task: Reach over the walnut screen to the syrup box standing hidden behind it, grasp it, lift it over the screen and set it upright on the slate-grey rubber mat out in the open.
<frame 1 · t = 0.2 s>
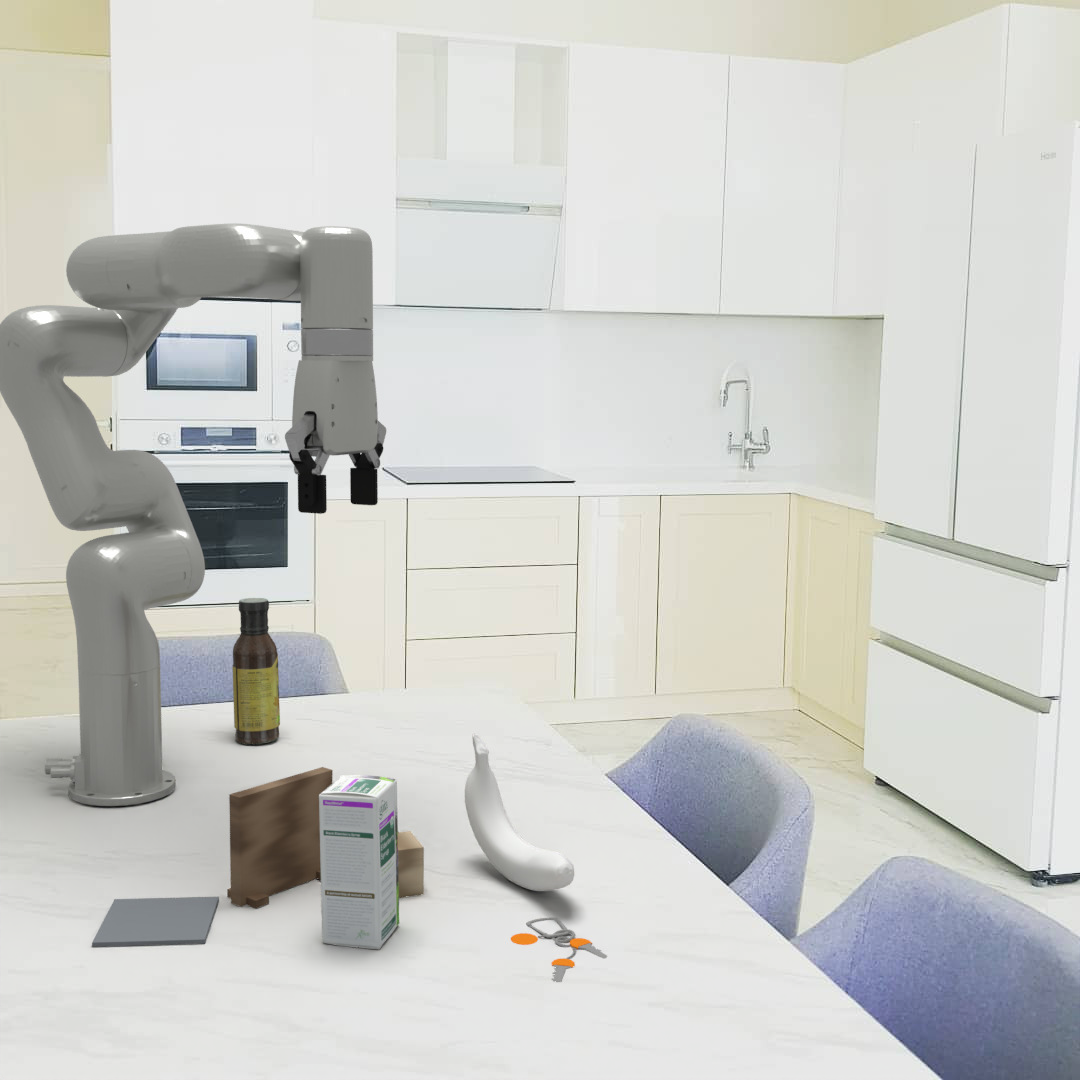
hand: (338, 508, 145), 37 cm above the table, tool pointing down, fingers open, 9 cm apart
oak cube: (392, 889, 137), on the table
mat: (158, 922, 128), on the table
syrup box: (360, 936, 126), on the table
screen: (283, 887, 137), on the table
banana: (520, 887, 139), on the table
sauce bottle: (256, 741, 189), on the table
key chain: (557, 953, 124), on the table
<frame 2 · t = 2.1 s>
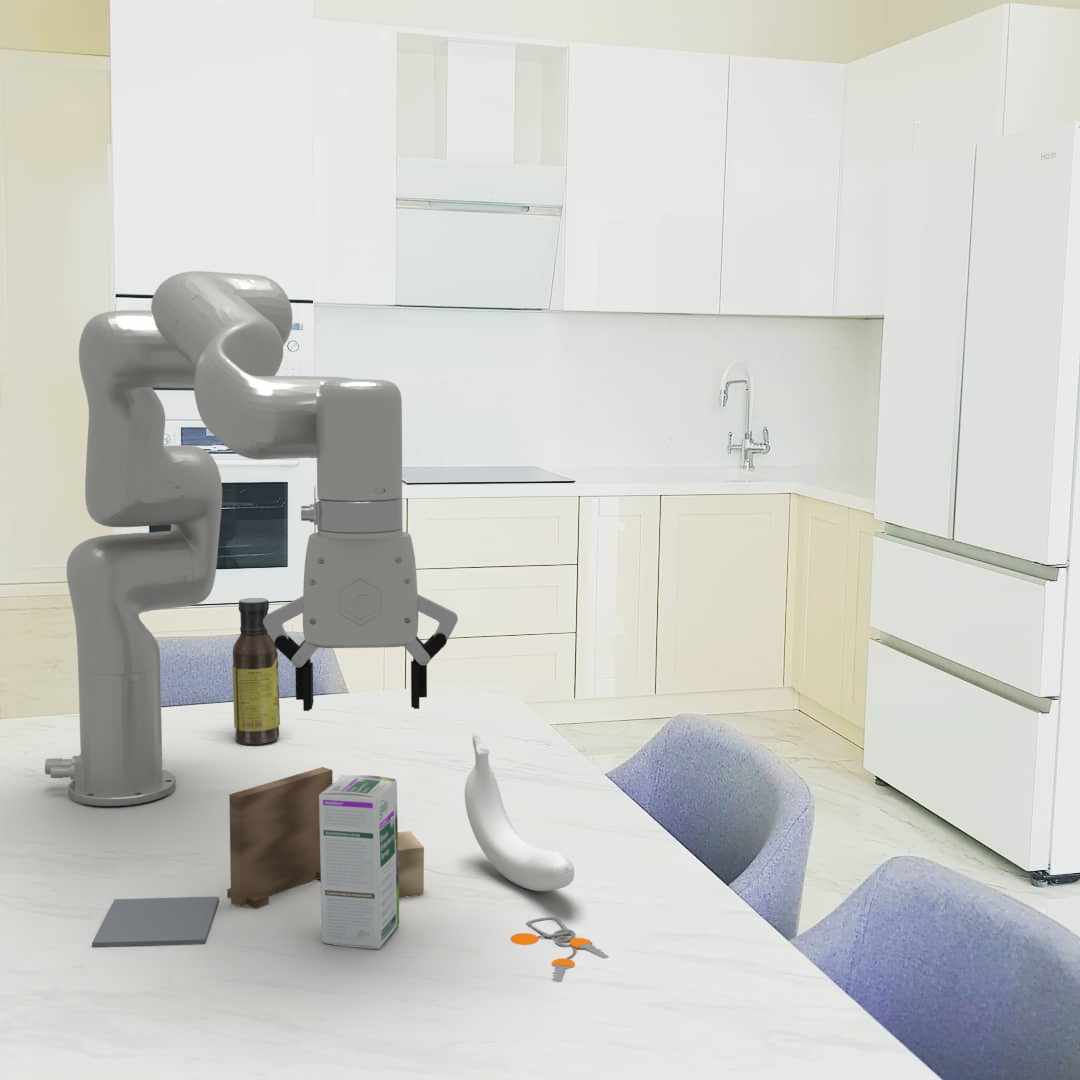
hand: (362, 706, 123), 22 cm above the table, tool pointing down, fingers open, 9 cm apart
nothing on the table moved.
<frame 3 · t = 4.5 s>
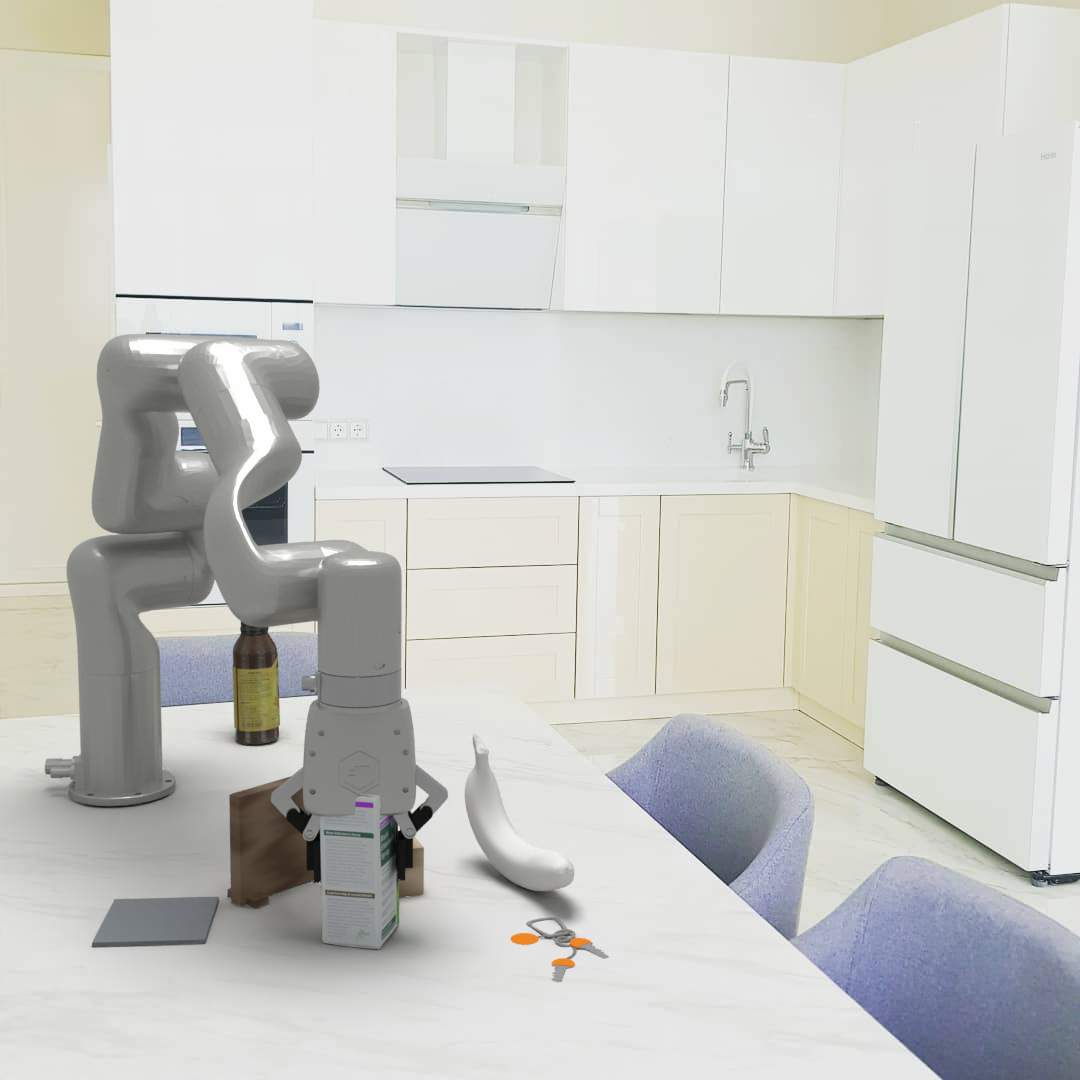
hand: (360, 874, 125), 6 cm above the table, tool pointing down, fingers closed on syrup box, 7 cm apart
syrup box: (360, 936, 126), on the table, touching gripper
everything else where it was.
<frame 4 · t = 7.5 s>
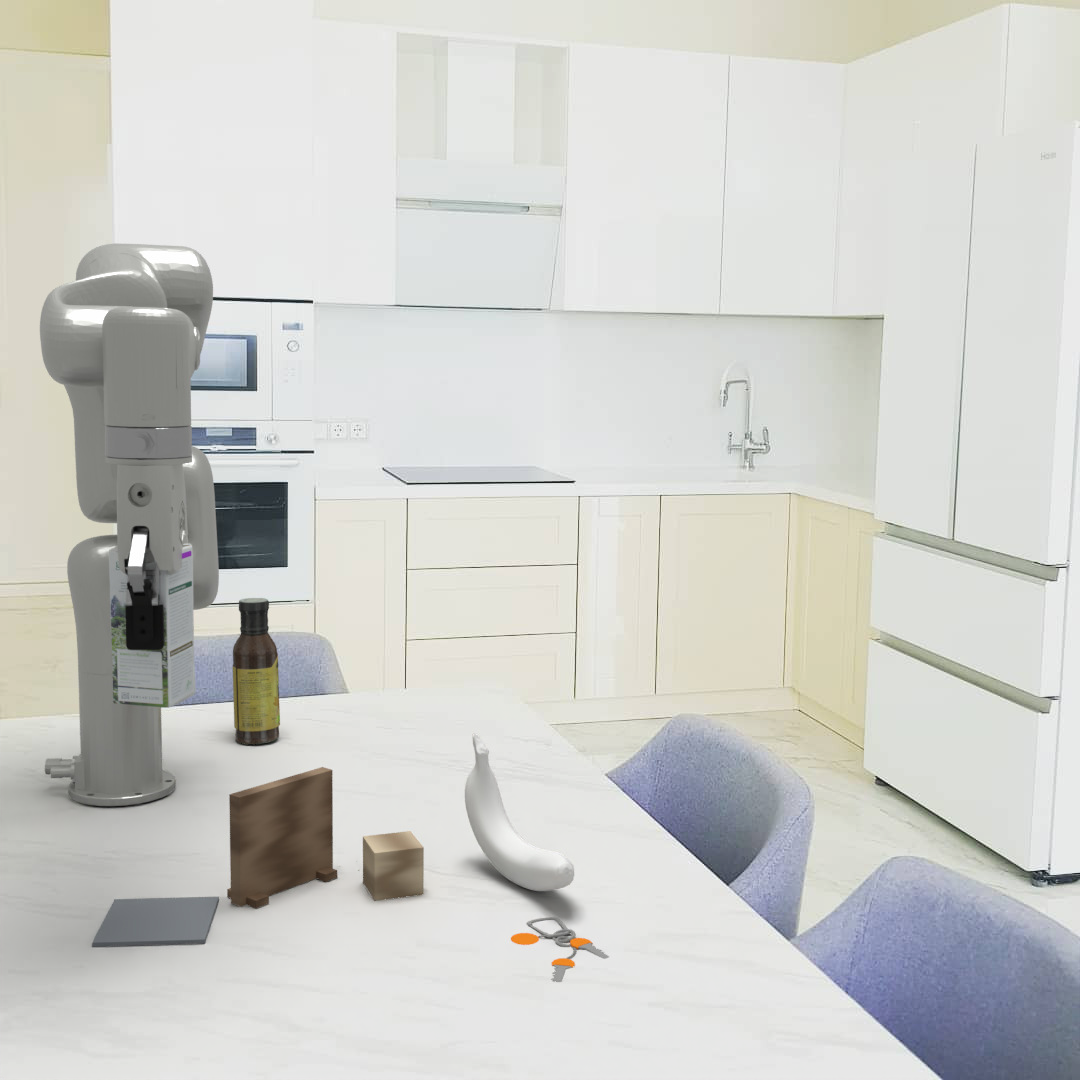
hand: (153, 638, 124), 27 cm above the table, tool pointing down, fingers closed on syrup box, 7 cm apart
syrup box: (154, 702, 125), point 21 cm above the table, touching gripper
everything else where it was.
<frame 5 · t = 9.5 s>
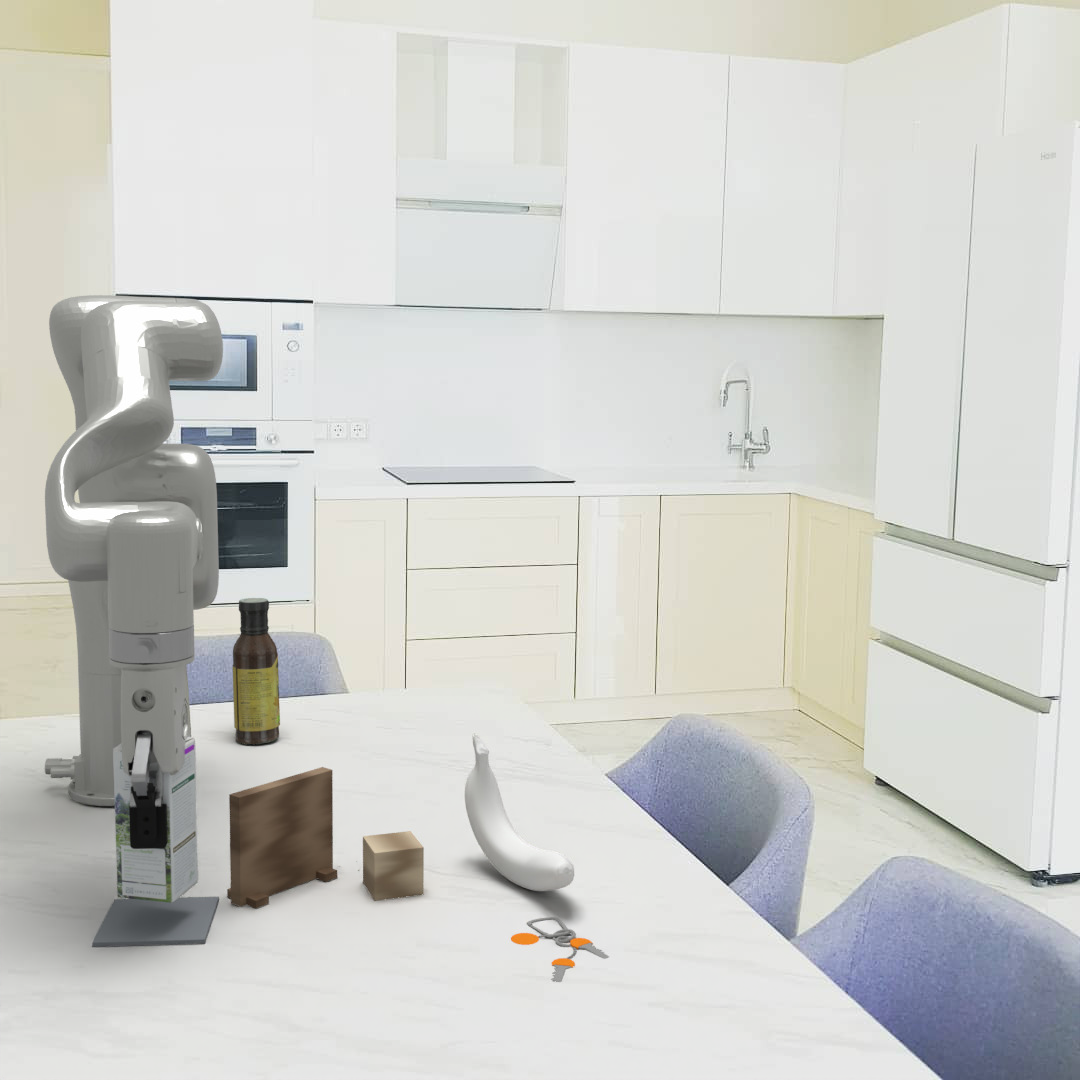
hand: (156, 831, 127), 9 cm above the table, tool pointing down, fingers closed on syrup box, 7 cm apart
syrup box: (158, 893, 127), point 3 cm above the table, touching gripper
everything else where it was.
when the fingers open (6 cm above the table, at t = 10.8 s): syrup box stays where it is, resting on mat.
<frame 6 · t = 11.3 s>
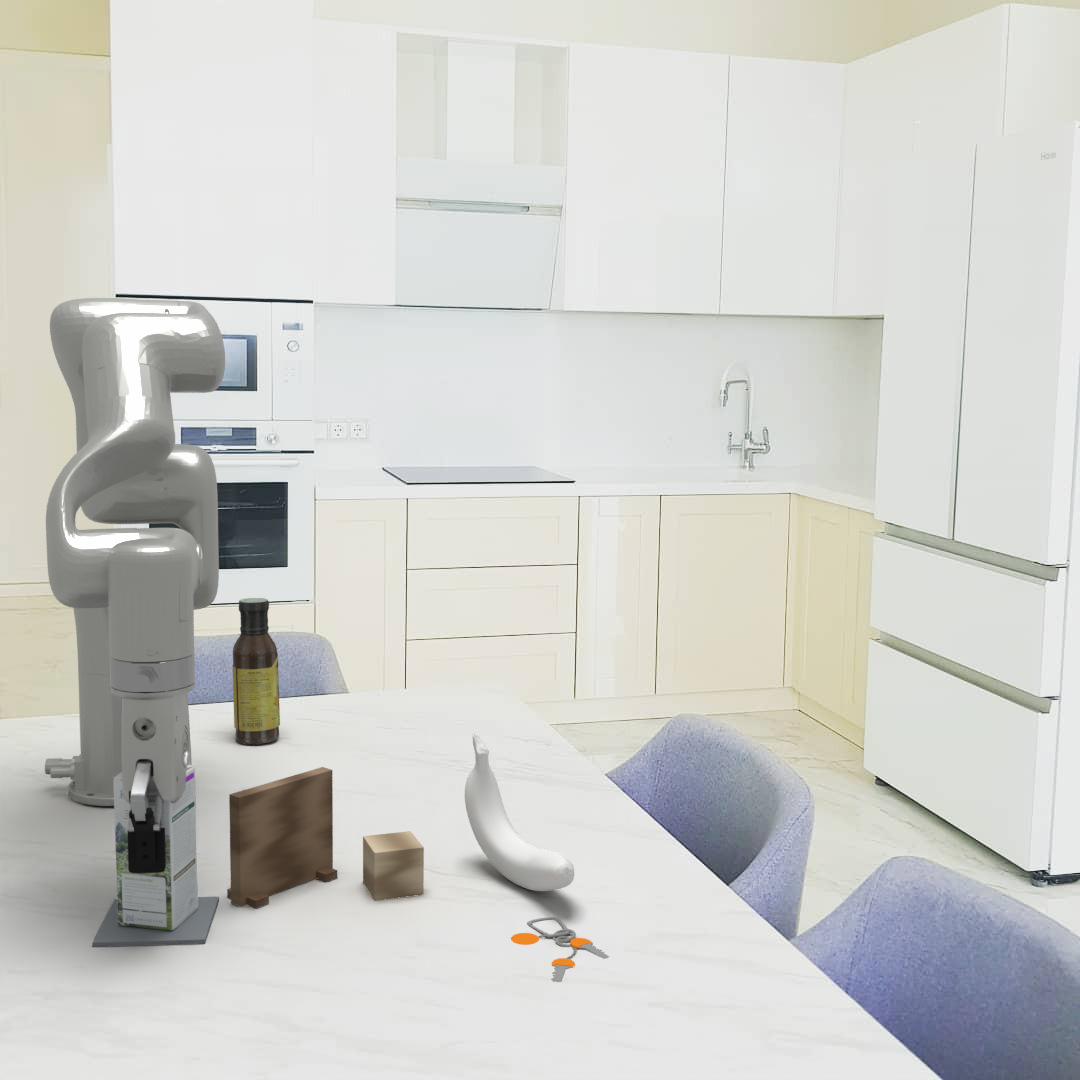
hand: (156, 852, 127), 7 cm above the table, tool pointing down, fingers open, 9 cm apart
syrup box: (158, 919, 128), resting on mat
everything else where it was.
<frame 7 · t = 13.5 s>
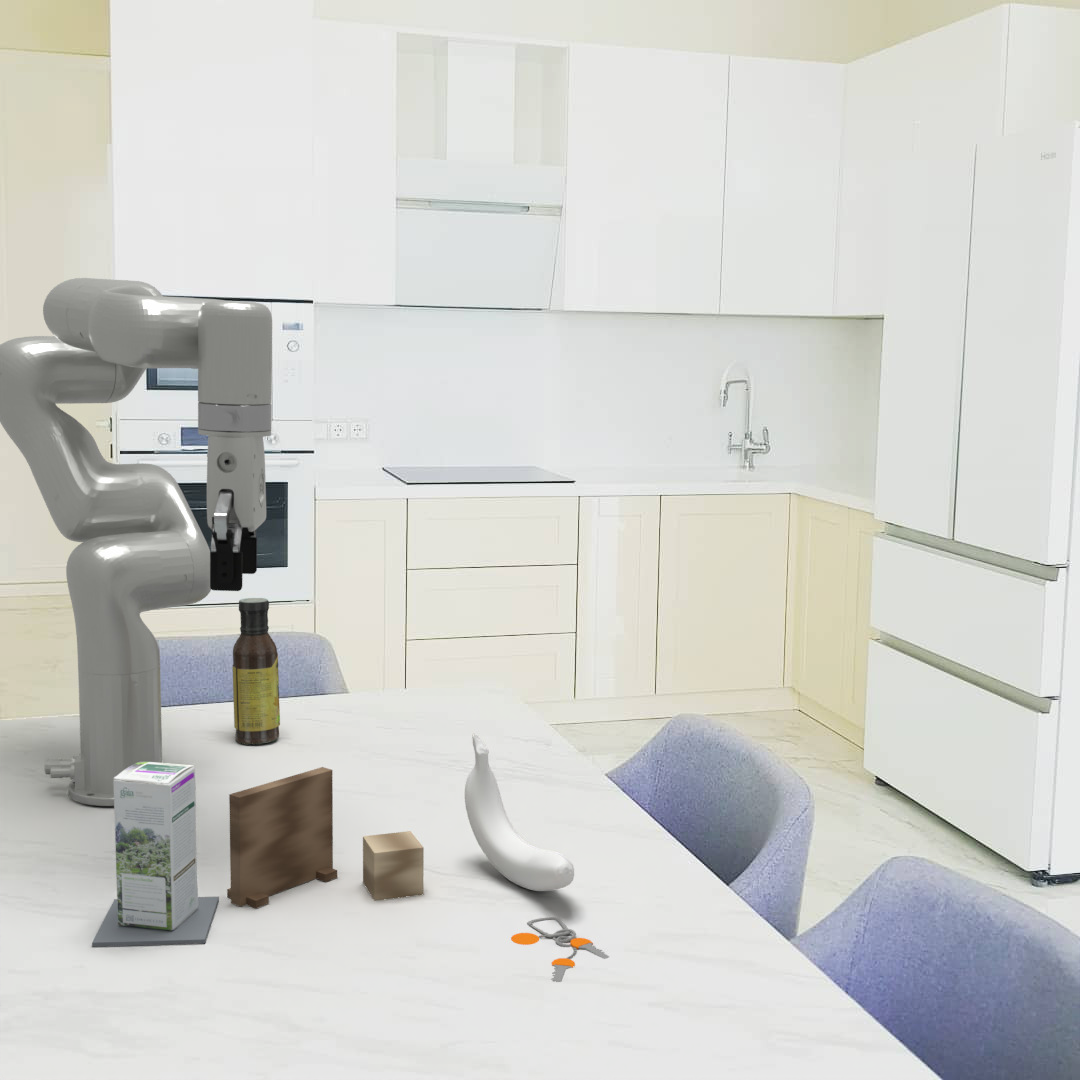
hand: (234, 581, 144), 29 cm above the table, tool pointing down, fingers open, 9 cm apart
nothing on the table moved.
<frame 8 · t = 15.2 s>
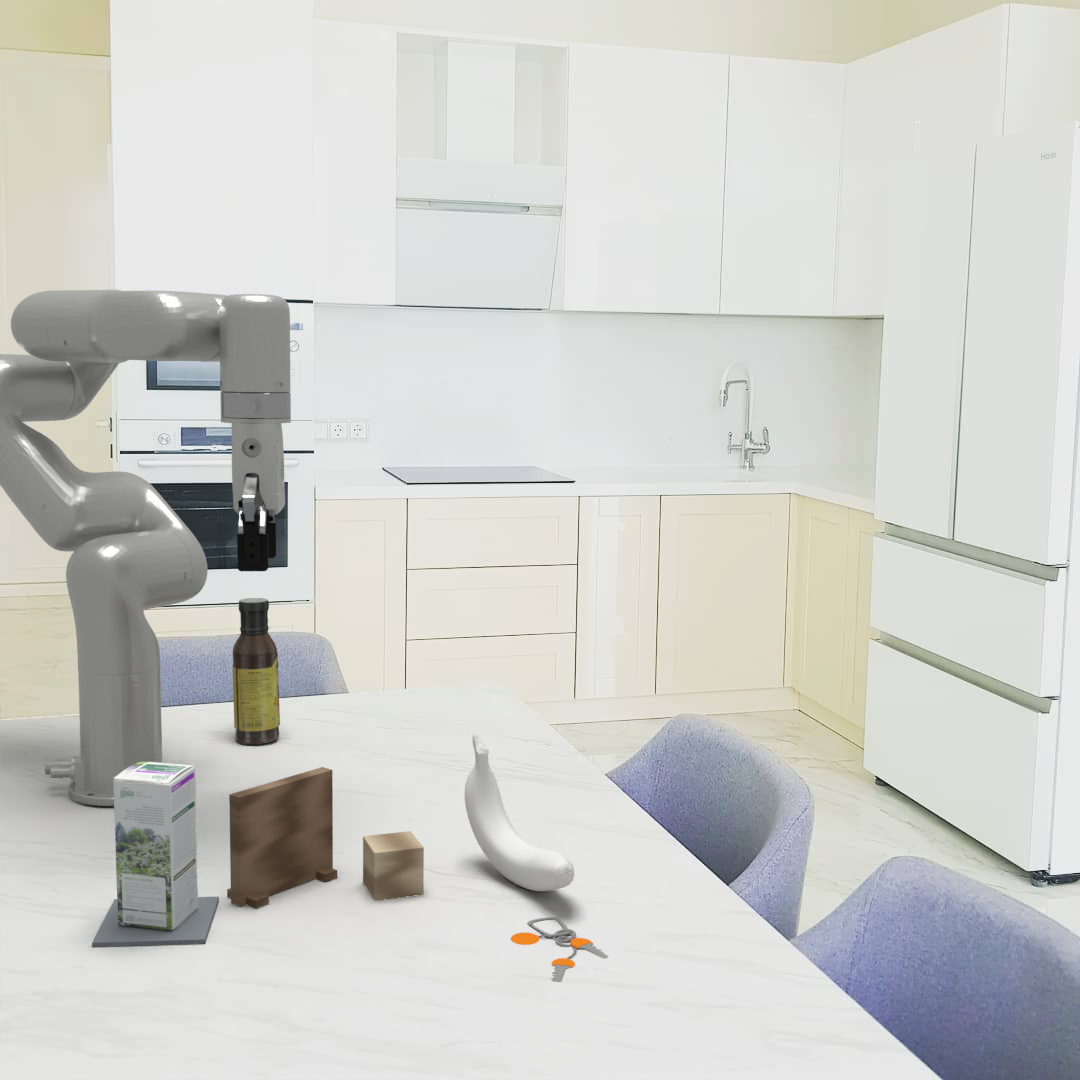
hand: (257, 564, 150), 30 cm above the table, tool pointing down, fingers open, 9 cm apart
nothing on the table moved.
at the end: syrup box inside the target area on the mat (0.2 cm from its centre), point 0.2 cm above the mat's base; syrup box tilted 0°; the gripper is holding nothing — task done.
